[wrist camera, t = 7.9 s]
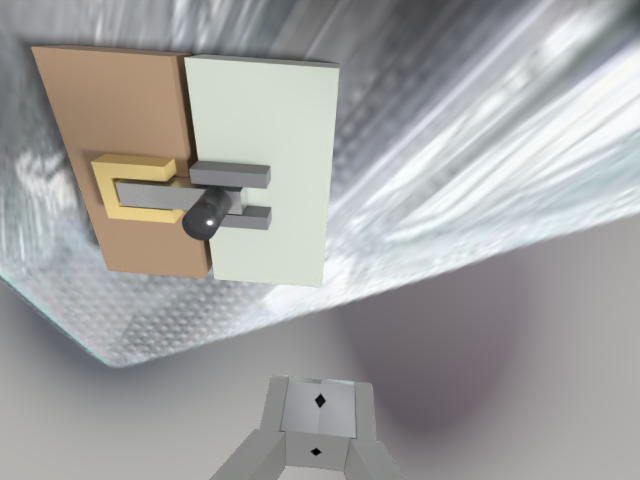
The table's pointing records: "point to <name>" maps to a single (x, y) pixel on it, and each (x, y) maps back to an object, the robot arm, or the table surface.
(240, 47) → the table surface
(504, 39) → the table surface
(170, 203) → the bolt
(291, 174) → the door and jamb
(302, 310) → the table surface
